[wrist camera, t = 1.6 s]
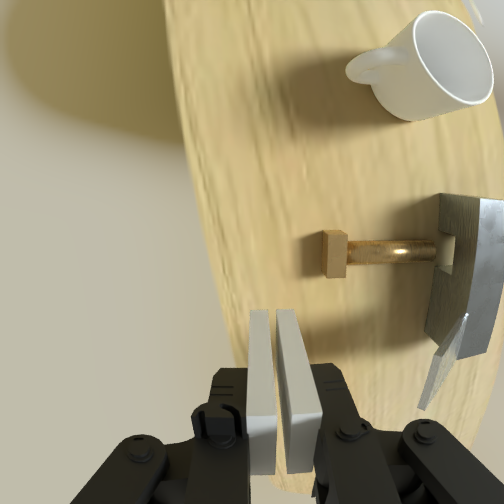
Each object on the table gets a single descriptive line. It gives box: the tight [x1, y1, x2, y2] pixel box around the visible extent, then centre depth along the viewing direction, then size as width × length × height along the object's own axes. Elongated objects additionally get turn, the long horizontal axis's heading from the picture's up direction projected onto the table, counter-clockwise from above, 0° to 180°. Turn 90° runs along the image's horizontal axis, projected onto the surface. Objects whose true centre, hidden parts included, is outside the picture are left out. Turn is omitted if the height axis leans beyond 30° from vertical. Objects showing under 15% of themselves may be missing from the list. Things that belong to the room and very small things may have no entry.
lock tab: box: [417, 313, 468, 411], centre depth 21 cm, size 5×9×1 cm
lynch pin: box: [322, 230, 436, 278], centre depth 28 cm, size 12×4×2 cm, turn 91°
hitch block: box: [424, 193, 504, 360], centre depth 26 cm, size 16×5×7 cm, turn 1°
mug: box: [345, 10, 494, 121], centre depth 20 cm, size 12×8×10 cm
